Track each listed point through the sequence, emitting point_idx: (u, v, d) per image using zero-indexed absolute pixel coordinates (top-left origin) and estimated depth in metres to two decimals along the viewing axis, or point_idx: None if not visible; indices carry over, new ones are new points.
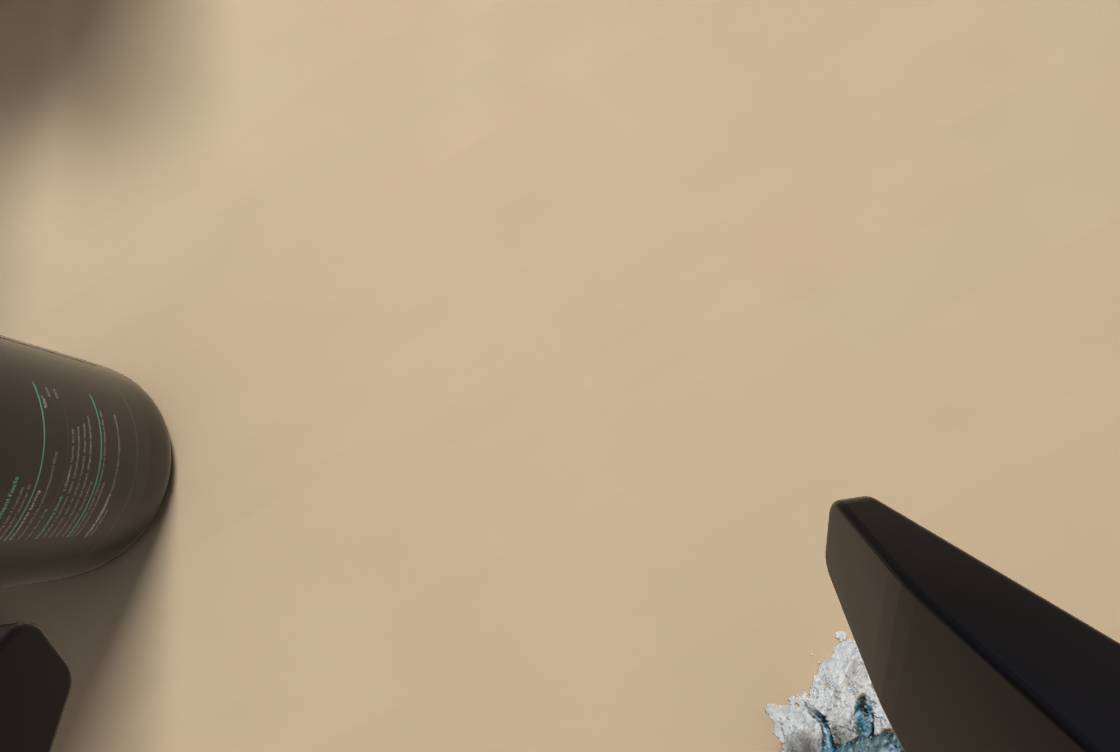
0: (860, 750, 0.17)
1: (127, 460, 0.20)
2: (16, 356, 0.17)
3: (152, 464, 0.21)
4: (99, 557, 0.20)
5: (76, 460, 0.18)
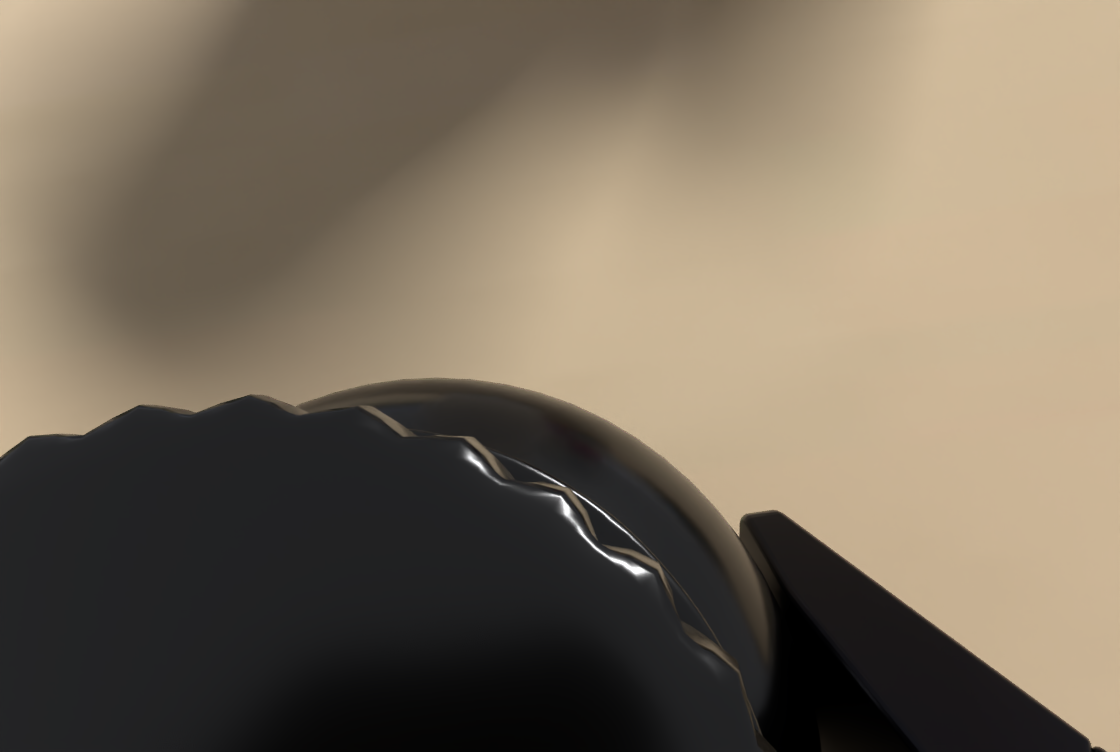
0: None
1: None
2: None
3: None
4: None
5: None
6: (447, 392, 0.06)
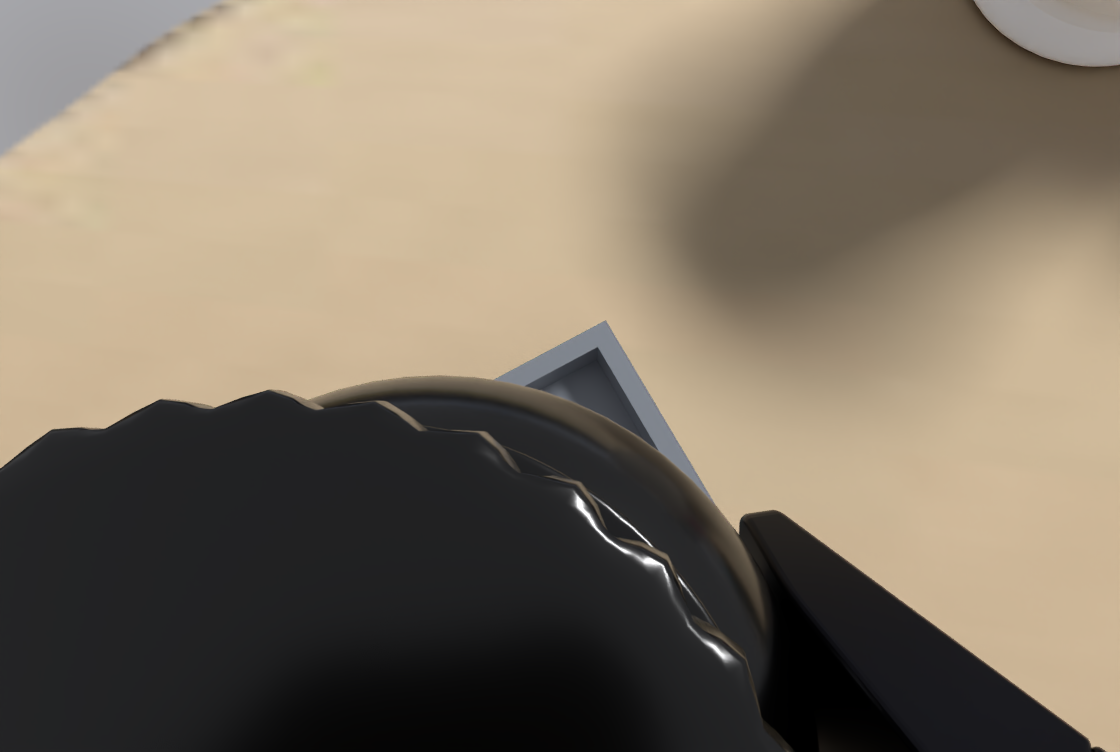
0: None
1: None
2: None
3: None
4: None
5: None
6: (451, 390, 0.06)
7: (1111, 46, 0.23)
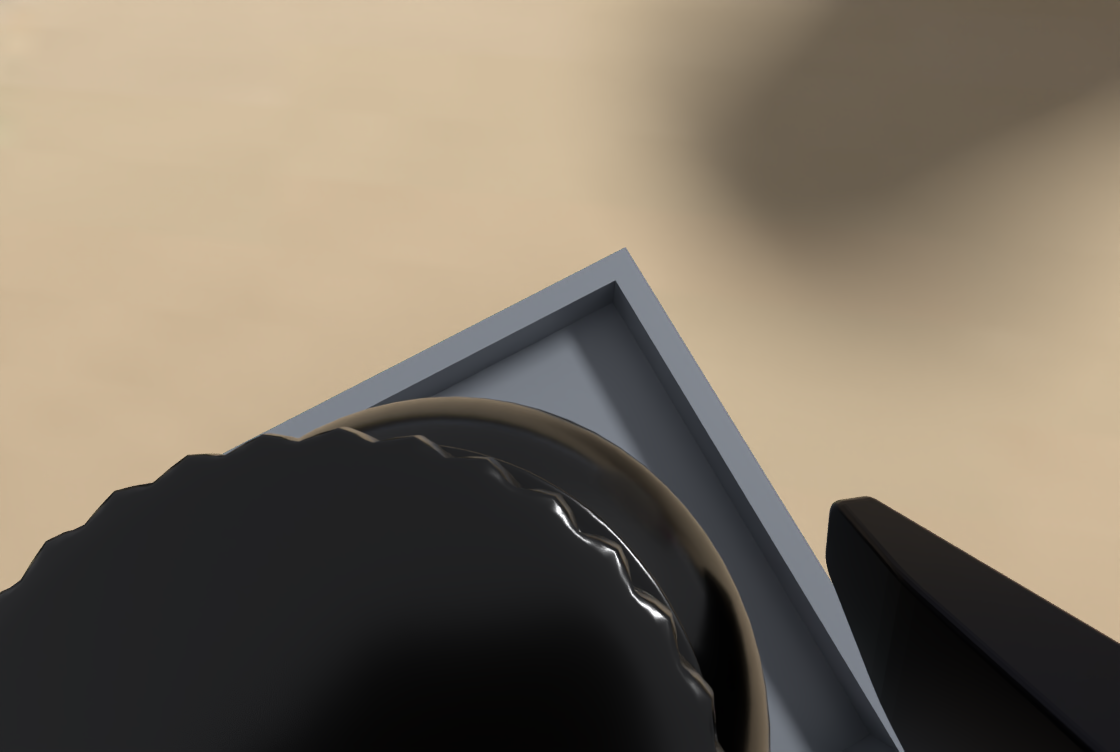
0: None
1: None
2: None
3: None
4: None
5: None
6: (464, 410, 0.07)
7: None
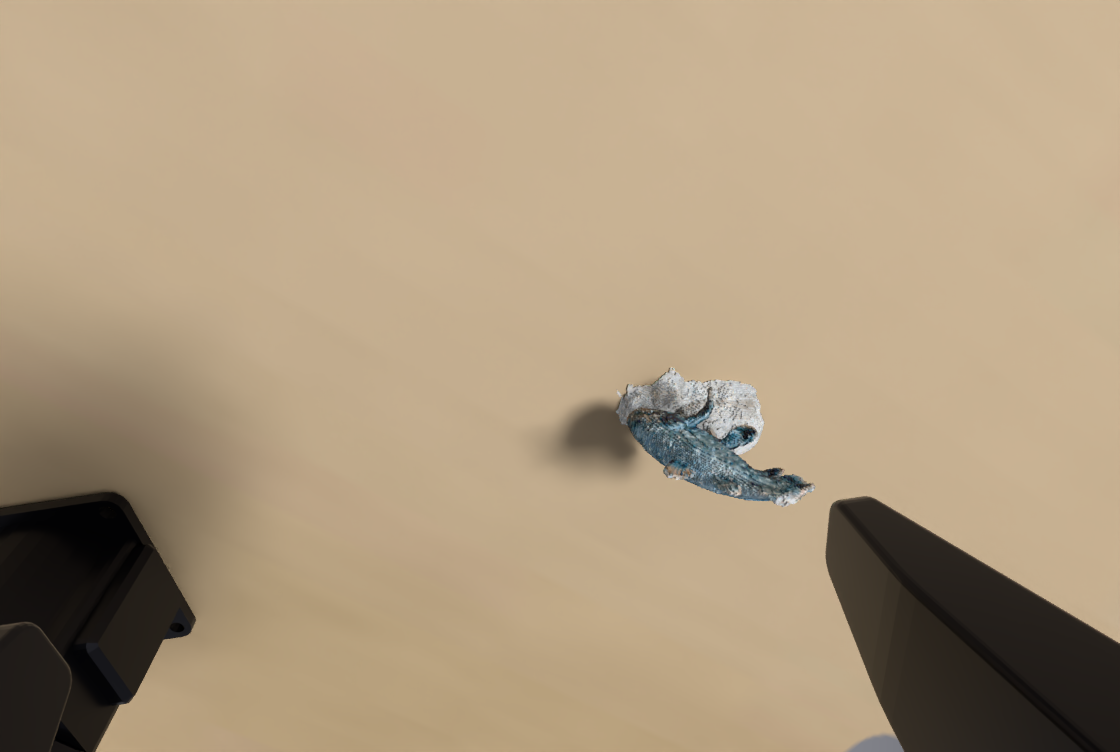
0: (720, 449, 0.19)
1: None
2: None
3: None
4: None
5: None
6: None
7: None
